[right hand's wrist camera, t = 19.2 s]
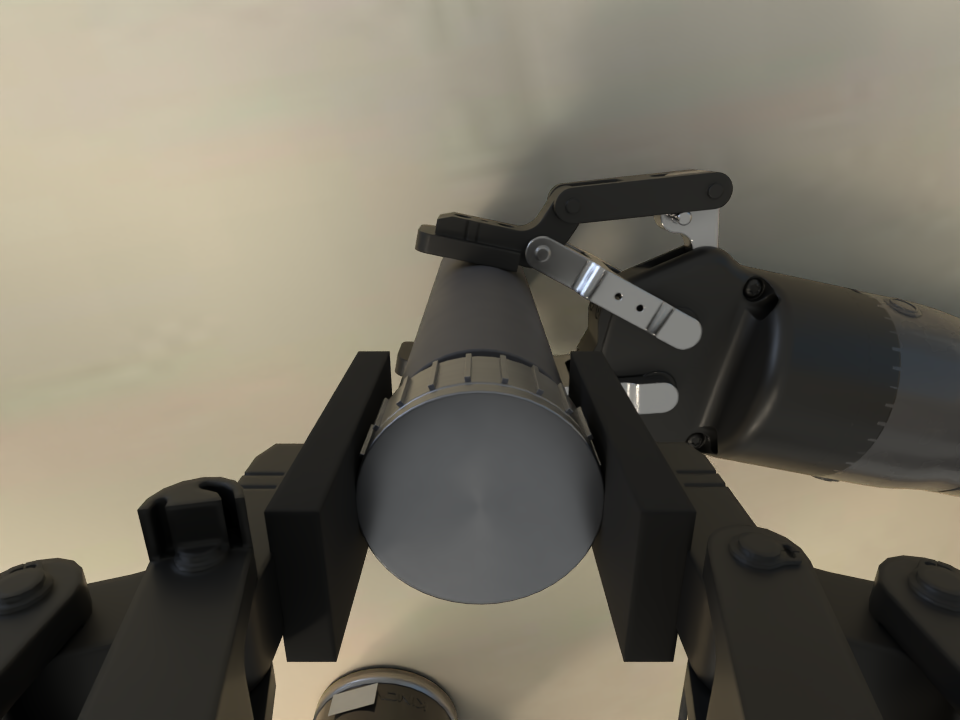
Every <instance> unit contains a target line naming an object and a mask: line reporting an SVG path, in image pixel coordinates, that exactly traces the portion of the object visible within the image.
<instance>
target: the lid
mask: <svg viewBox="0 0 960 720" xmlns="http://www.w3.org/2000/svg"><path fill="white" fill-rule="evenodd" d="M592 439H594V438H593V435H592V433H591V430H590V428H589V425H588V423H587V420H586V417H585V415H584V412H583V410H582V408H581V407H578V408H577V407H576V406H575V404H574V403H573V402H572V400H571V399H570V397H569V396H568V395H567V393H566V390H565V387H564V385H563V384H562V383H560V384H558V385H557V384H556V383H555V382H553V381H552V380H551V379H550V378H548V377H547V376H545V375H544V374H542V373H540V372H539V370H538V367H537V366H535V365H533V366H532V367H528V366H526V365H524V364H521V363H518V362H515V361H511V360H508V359H506V356H505V355H500V358H496V357H483V356H475V357H472V354H471V353H470V354H466V357H463V358H458V359H453V360H448V361H445V362H442V363H439V362H438V360H437V361H434V362H433V364H432V366H431V367H429V368H427V369H425V370H423V371H421V372H419V373H418V374H416V375H415V376H413V377H412V378H410V377H409V376H407V377H406V378H404V381H403V384H402V386H401V387H400V388H398V389H397V390H396V392H395V393H394V394H393V395H392V396H391V397H390V399H387V398H385V399H384V400H383V402H382V405H381V407H380V410H379V412H378V415H377V418H376V420H375V423H374V425H373V424H371V426H370V428H369V431H368V434H367V436H366V439H365V441H364V444H363V446H362V449H361V451H360V454H359V458H360V459H362V461H361V464H360V467H359V471H358V474H357V478H356V486H355V489H356V502H357V514H358V523H359V526H360V529H361V532H362V535H363V537H364V539H365V540H366V542H367V544H368V546H369V548H370V549H371V551H372V552H373V554H374V555H375V556H376V558H377V559H378V560H379V561H380V562H381V563H382V564H383V565H384V567H385V568H386V569H387V570H389V571H390V572H391V573H392V574H393V575H395V576H396V577H397V578H398V579H400V580H401V581H403V582H404V583H406V584H407V585H409V586H411V587H413V588H415V589H417V590H419V591H421V592H423V593H425V594H428V595H430V596H433V597H436V598H439V599H443V600H447V601H451V602H457V603H465V604H496V603H503V602H508V601H513V600H517V599H520V598H524V597H527V596H530V595H532V594H535V593H537V592H540V591H542V590H544V589H545V588H547V587H549V586H551V585H553V584H554V583H556V582H557V581H559V580H560V579H562V578H563V577H564V576H566V575H567V574H568V573H569V572H570V571H571V570H572V569H573V568H575V567H576V566H577V565H578V563H579V562H580V561H581V560H582V559H583V558H584V556H585V555H586V554H587V552H588V551H589V549H590V548H591V546H592V544H593V543H594V541H595V538H596V536H597V534H598V532H599V530H600V526H601V523H602V517H603V507H604V494H605V485H604V479H603V474H602V471H601V463H600V461H599V458H598V455H597V453H596V450H595V447H594V445H593V442H592Z"/></svg>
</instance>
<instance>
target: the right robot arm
mask: <svg viewBox="0 0 960 720" xmlns="http://www.w3.org/2000/svg"><path fill="white" fill-rule="evenodd" d="M391 396H392V384H391V367H390V351H359V352H358V353H357V355H356V357H355V358H354V360H353V362H352V363H351V365H350V367H349V368H348V370H347V372H346V374H345V375H344V377H343V379H342V380H341V382H340V384H339V385H338V387H337V389H336V390H335V392H334V394H333V396H332V397H331V399H330V401H329V402H328V404H327V406H326V407H325V409H324V411H323V412H322V414H321V416H320V418H319V419H318V421H317V423H316V424H315V426H314V428H313V429H312V431H311V433H310V434H309V436H308V438H307V440H306V441H305V443H304V444H275V445H273V446H272V447H270V448H269V449H267V450H266V451H264V452H263V453H261V454H260V455H258V456H257V457H256V458H255V459H254V460H253V462H252V463H251V465H250V466H249V467H248V469H247V470H246V472H245V476H242V477H241V478H240V480H239V481H238V483H237V482H236V481H234V480H230V479H226V478H222V477H202V478H197V479H192V480H187V481H182V482H180V483H177V484H175V485H172V486H169V487H167V488H164V489H162V490H161V491H159V492H157V493H156V494H154V495H153V496H151V497H149V498H148V499H147V500H146V501H145V502H144V503H143V504H142V505H141V506H140V508H139V509H138V510H137V511H138V515H139V519H140V523H141V527H142V531H143V535H144V540H145V544H146V548H147V552H148V556H149V560H150V562H149V564H148V567H147V569H146V571H143V572H139V573H135V574H132V575H127V576H122V577H118V578H113V579H108V580H103V581H99V582H94V583H89V584H87V582H86V579H85V576H84V572H83V569H82V567H80V566H79V565H78V564H77V563H76V562H75V561H73V560H67V559H61V558H53V559H44V560H36V561H32V562H28V563H26V564H21V565H18V566H15V567H12V568H10V569H8V570H7V571H4V572H2V573H0V720H272V715H273V706H274V698H275V689H276V683H275V675H274V669H273V663H272V661H273V658H274V656H275V653H276V651H277V648H278V646H279V643H280V641H281V638H282V636H283V639H284V645H285V652H286V658H287V662H336V661H337V658H338V654H339V651H340V647H341V643H342V640H343V636H344V633H345V629H346V625H347V622H348V618H349V615H350V611H351V607H352V604H353V600H354V597H355V593H356V589H357V586H358V582H359V579H360V575H361V572H362V568H363V564H364V561H365V557H366V554H367V550H368V544H367V542H366V540H365V539H364V537H363V535H362V532H361V529H360V526H359V523H358V514H357V502H356V489H355V486H356V478H357V474H358V471H359V467H360V464H361V461H362V459H360V458H359V454H360V451H361V449H362V446H363V444H364V441H365V439H366V436H367V434H368V431H369V428H370V426H371V424H373V425H374V423H375V420H376V418H377V415H378V412H379V410H380V407H381V405H382V402H383V400H384V399H385V398H387V399H390V397H391ZM568 396H569V397H570V399H571V400H572V402H573V403H574V404H575V406H576V407H577V408H578V407H581V408H582V410H583V412H584V415H585V417H586V420H587V423H588V425H589V428H590V430H591V433H592V435H593V438H594V439H592V442H593V445H594V447H595V450H596V453H597V455H598V458H599V461H600V463H601V471H602V474H603V479H604V485H605V494H604V507H603V517H602V523H601V526H600V530H599V532H598V534H597V536H596V538H595V541H594V543H593V544H592V549H593V552H594V556H595V559H596V563H597V567H598V570H599V574H600V577H601V581H602V585H603V588H604V592H605V595H606V599H607V603H608V606H609V610H610V613H611V617H612V620H613V624H614V628H615V631H616V635H617V638H618V642H619V646H620V649H621V653H622V656H623V660H624V662H673V660H674V654H675V648H676V641H677V635H679V637H680V639H681V642H682V644H683V647H684V649H685V652H686V654H687V657H688V663H687V669H686V675H685V681H684V687H683V693H682V699H681V705H680V711H679V718H678V720H687V715H688V720H960V570H958V569H956V568H954V567H953V566H951V565H948V564H945V563H943V562H940V561H938V562H937V561H935V560H932V559H928V558H923V557H913V556H904V555H903V556H897V557H891V558H887V559H886V560H885V561H884V562H882V563H881V564H880V565H879V567H878V571H877V574H876V577H875V581H869V580H864V579H860V578H855V577H850V576H845V575H841V574H836V573H831V572H827V571H823V570H820V569H816V568H813V566H812V563H811V561H810V560H809V558H808V557H807V556H806V554H805V553H804V552H803V550H802V549H801V548H800V547H798V546H797V545H796V544H794V543H793V542H791V541H790V540H789V539H787V538H786V537H784V536H782V535H779V534H777V533H775V532H772V531H770V530H768V529H764V528H760V527H757V526H756V525H755V524H754V522H753V521H752V520H751V518H750V517H749V515H748V514H747V513H746V511H745V510H744V508H743V507H742V506H741V504H740V503H739V502H738V500H737V499H736V497H735V496H734V495H733V493H732V492H731V491H730V489H729V488H728V487H726V486H725V482H724V481H723V480H722V478H721V477H720V475H719V474H716V470H715V469H714V467H713V466H712V464H711V463H710V462H709V460H708V459H707V458H706V456H705V455H704V454H702V453H701V452H699V451H698V450H696V449H695V448H693V447H692V446H690V445H689V444H687V443H686V442H655V441H654V439H653V437H652V435H651V434H650V432H649V430H648V429H647V427H646V425H645V424H644V422H643V420H642V419H641V417H640V415H639V413H638V412H637V410H636V408H635V407H634V405H633V403H632V402H631V400H630V398H629V397H628V395H627V393H626V392H625V390H624V388H623V386H622V385H621V383H620V381H619V380H618V378H617V376H616V375H615V373H614V371H613V370H612V368H611V366H610V364H609V363H608V361H607V359H606V358H605V356H604V354H603V353H602V351H571V356H570V373H569V390H568Z"/></svg>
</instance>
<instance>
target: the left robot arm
mask: <svg viewBox="0 0 960 720" xmlns="http://www.w3.org/2000/svg"><path fill="white" fill-rule="evenodd" d="M732 191H733V186H732V182H731V180H730V178H729V177H728V176H727V175H725V174H723V173H720V172H713V171H704V170H682V171H673V172H663V173H654V174H645V175H635V176H626V177H617V178H608V179H598V180H589V181H580V182H570V183H562V184H558V185H556V186H554V187H553V188H552V189H551V191H550V192H549V195H548V199H547V202H546V203H545V205H544V207H543V208H542V210H541V211H540V213H539V214H538V216H537V217H536V218H535V219H534V220H533V221H532V222H531V223H529V224H526V225H522V226H517V225H512V224H507V223H503V222H498V221H493V220H489V219H484V218H479V217H475V216H469V215H465V214H461V213H456V212H452V213H447V214H441V215H440V216H439V217H438V219H437V224H436V226H433V225H421V227H420V228H419V229H418V235H417V240H416V246H415V249H416V250H417V251H420V252H423V253H427V254H432V255H437V256H441V257H446V258H451V259H456V260H461V261H465V262H470V263H475V264H480V265H484V266H491V267H495V268H499V269H504V270H508V271H513V272H517V269H518V265H519V266H524V267H529V268H533V269H535V270H537V271H539V272H541V273H543V274H544V275H546V276H548V277H550V278H552V279H554V280H556V281H558V282H559V283H561V284H563V285H565V286H567V287H569V288H571V289H572V290H574V291H576V292H577V293H578V294H580V295H581V296H582V297H584V298H586V299H587V300H589V301H590V304H589V308H588V329H587V331H586V332H585V334H584V336H583V337H582V339H581V341H580V342H579V344H578V347H577V350H576V351H602V353H603V354H604V356H605V358H606V359H607V361H608V363H609V364H610V366H611V368H612V370H613V371H614V373H615V375H616V376H617V378H618V380H619V381H620V383H621V385H622V386H623V388H624V390H625V392H626V393H627V395H628V397H629V398H630V400H631V402H632V403H633V405H634V407H635V408H636V410H637V412H638V413H639V415H640V417H641V419H642V420H643V422H644V424H645V425H646V427H647V429H648V430H649V432H650V434H651V435H652V437H653V439H654V441H655V442H686V443H687V444H689V445H690V446H692V447H693V448H695V449H696V450H698V451H699V452H701V453H702V454H705V455H709V456H713V457H717V458H722V459H727V460H732V461H738V462H743V463H748V464H754V465H759V466H764V467H770V468H775V469H780V470H785V471H791V472H796V473H801V474H806V475H811V476H813V477H815V478H818V479H821V480H825V481H836V482H839V481H844V482H849V483H854V484H859V485H866V486H872V487H879V488H893V489H917V490H925V491H930V492H935V493H940V494H946V495H951V496H956V497H960V318H957V317H955V316H952V315H950V314H947V313H945V312H942V311H939V310H937V309H934V308H931V307H928V306H924V305H921V304H917V303H913V302H909V301H905V300H901V299H898V298H890V297H886V296H881V295H876V294H871V293H867V292H862V291H857V290H853V289H849V288H844V287H840V286H835V285H830V284H826V283H821V282H816V281H812V280H807V279H802V278H798V277H793V276H788V275H784V274H779V273H774V272H770V271H765V270H760V269H756V268H751V267H747V266H743V265H740V264H739V263H737V262H736V261H735V260H734V259H733V258H732V257H731V256H730V255H729V254H728V253H727V252H725V251H724V250H722V249H720V248H718V235H719V211H720V207H722V206H724V205H725V204H726V203H727V202H728V201H729V199H730V197H731V195H732ZM646 216H654V220H655V222H656V224H657V225H658V226H659V227H661V228H663V229H665V230H667V231H669V232H672V233H680V234H681V236H682V237H683V239H684V245H683V246H681V247H679V248H676V249H674V250H672V251H669V252H667V253H665V254H662V255H660V256H658V257H655V258H653V259H651V260H648V261H646V262H643V263H641V264H639V265H636V266H634V267H632V268H629V269H627V270H625V271H621V270H620V269H618V268H616V267H614V266H612V265H610V264H609V263H607V262H605V261H603V260H601V259H600V258H598V257H596V256H594V255H592V254H590V253H589V252H587V251H584V250H582V249H580V248H578V247H576V246H574V245H572V244H570V243H569V242H568V240H569V239H570V237H571V236H572V234H573V233H574V231H575V230H576V228H577V227H578V225H579V224H580V223H588V222H598V221H607V220H617V219H626V218H636V217H646ZM413 344H414V342H403V343H402V345H401V347H400V350H399V352H398V356H397V362H396V368H395V372H396V373H397V374H398V375H400V376H402V377H403V374H404V371H405V368H406V365H407V362H408V359H409V356H410V353H411V350H412V347H413ZM570 356H571V354H569V355H555V356H553V358H554V361H555V364H556V366H557V369H558V372H559V375H560V378H561V381H562V384H563V385H564V387H565V390H566V393H567V395H568V390H569V373H570ZM313 720H457V713H456V710H455V707H454V705H453V703H452V701H451V700H450V698H449V697H448V695H447V694H446V693H445V692H444V691H443V690H442V689H441V688H440V687H438V686H437V685H436V684H435V683H433V682H432V681H430V680H428V679H426V678H424V677H422V676H420V675H417V674H415V673H412V672H408V671H404V670H399V669H391V668H374V669H367V670H361V671H358V672H354V673H352V674H349V675H347V676H344V677H342V678H341V679H339V680H337V681H336V682H335V683H333V684H332V685H331V686H330V687H329V688H328V689H327V690H326V691H325V692H324V693H323V695H322V696H321V698H320V700H319V703H318V705H317V708H316V712H315V715H314V719H313Z"/></svg>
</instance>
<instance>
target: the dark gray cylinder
mask: <svg viewBox="0 0 960 720" xmlns="http://www.w3.org/2000/svg"><path fill="white" fill-rule="evenodd" d="M470 353H471V354H472V357H475V356H483V357H496V358H500V355H505V356H506V359H508V360H511V361H515V362H518V363H521V364H524V365H526V366H528V367H532V366H533V365H535V366H537V367H538V370H539V372H540V373H542V374H544V375H545V376H547V377H548V378H550V379H551V380H552V381H553V382H555V383H556V384H557V385H558V384H560V383H562V381H561V378H560V375H559V372H558V369H557V366H556V364H555V361H554V358H553V355H552V352H551V349H550V346H549V343H548V340H547V337H546V335H545V332H544V329H543V326H542V323H541V320H540V317H539V314H538V311H537V309H536V306H535V303H534V300H533V297H532V294H531V291H530V288H529V285H528V282H527V280H526V277H525V274H524V271H523V268H522V266H519V265H518V269H517V272H513V271H508V270H504V269H499V268H495V267H491V266H484V265H480V264H475V263H470V262H465V261H461V260H456V259H451V258H446V257H443V259H442V262H441V264H440V267H439V270H438V273H437V276H436V279H435V282H434V285H433V288H432V291H431V294H430V297H429V300H428V303H427V306H426V309H425V312H424V315H423V318H422V321H421V324H420V326H419V329H418V332H417V335H416V338H415V341H414V344H413V347H412V350H411V353H410V356H409V359H408V362H407V365H406V368H405V371H404V374H403V377H402V380H401V383H400V386H399V388H400V387H401V386H402V384H403V381H404V378H406V377H407V376H409V377H410V378H412V377H413V376H415V375H416V374H418V373H419V372H421V371H423V370H425V369H427V368H429V367H431V366H432V364H433V362H434V361H437V360H438V362H439V363H442V362H445V361H448V360H453V359H458V358H463V357H466V354H470Z"/></svg>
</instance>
